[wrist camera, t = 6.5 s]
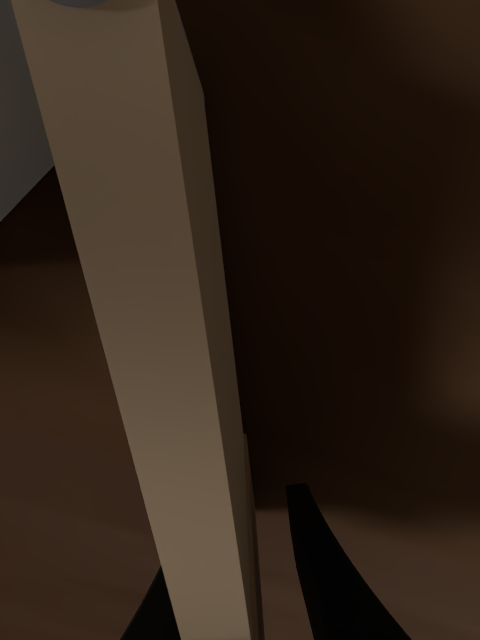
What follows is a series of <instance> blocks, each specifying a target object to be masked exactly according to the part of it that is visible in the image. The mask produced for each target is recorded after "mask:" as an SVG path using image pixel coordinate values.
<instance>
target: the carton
mask: <svg viewBox="0 0 480 640" xmlns="http://www.w3.org/2000/svg"><path fill="white" fill-rule="evenodd" d="M54 165H55V164H54V161H53V157H52V153H51V149H50V146H49V142H48V138H47V134H46V131H45V127H44V123H43V119H42V116H41V112H40V108H39V104H38V101H37V97H36V93H35V89H34V86H33V82H32V78H31V74H30V71H29V67H28V63H27V59H26V56H25V52H24V48H23V44H22V41H21V37H20V33H19V29H18V26H17V22H16V18H15V14H14V11H13V7H12V3H11V0H0V222H1V221H2V219H3V218H4V217H5V216H6V215H7V214H8V213H9V212H10V211H11V210H12V209H13V208H14V207H15V206H16V205H17V204H18V203H19V202H20V201H21V200H22V199H23V197H24V196H25V195H26V194H27V193H28V192H29V191H30V190H31V189H32V188H33V187H34V186H35V185H36V184H37V183H38V182H39V181H40V180H41V179H42V178H43V177H44V175H45V174H46V173H47V172H48V171H49V170H50V169H51V168H52V167H53V166H54Z"/></svg>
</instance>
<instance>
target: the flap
mask: <svg viewBox="0 0 480 640" xmlns="http://www.w3.org/2000/svg"><path fill="white" fill-rule="evenodd" d="M11 3H12V7H13V11H14V14H15V18H16V22H17V26H18V29H19V33H20V37H21V41H22V44H23V48H24V52H25V56H26V59H27V63H28V67H29V71H30V74H31V78H32V82H33V86H34V89H35V93H36V97H37V101H38V104H39V108H40V112H41V116H42V119H43V123H44V127H45V131H46V134H47V138H48V142H49V146H50V149H51V153H52V157H53V161H54V164H55V168H56V172H57V176H58V179H59V183H60V187H61V191H62V194H63V198H64V202H65V206H66V209H67V213H68V217H69V221H70V224H71V228H72V232H73V236H74V239H75V243H76V247H77V251H78V254H79V258H80V262H81V266H82V269H83V273H84V277H85V281H86V284H87V288H88V292H89V296H90V299H91V303H92V307H93V311H94V314H95V318H96V322H97V326H98V330H99V333H100V337H101V341H102V345H103V348H104V352H105V356H106V360H107V363H108V367H109V371H110V375H111V378H112V382H113V386H114V390H115V393H116V397H117V401H118V405H119V408H120V412H121V416H122V420H123V423H124V427H125V431H126V435H127V438H128V442H129V446H130V450H131V453H132V457H133V461H134V465H135V468H136V472H137V476H138V480H139V483H140V487H141V491H142V495H143V498H144V502H145V506H146V510H147V513H148V517H149V521H150V525H151V528H152V532H153V536H154V540H155V543H156V547H157V551H158V555H159V558H160V562H161V566H162V570H163V573H164V577H165V581H166V585H167V588H168V592H169V596H170V600H171V603H172V607H173V611H174V615H175V618H176V622H177V626H178V630H179V633H180V637H181V640H265V637H264V623H263V609H262V595H261V582H260V568H259V554H258V540H257V526H256V514H255V505H254V497H253V488H252V479H251V470H250V462H249V453H248V444H247V435H246V434H243V427H242V419H241V410H240V402H239V393H238V385H237V376H236V368H235V359H234V351H233V342H232V334H231V325H230V317H229V308H228V300H227V291H226V283H225V274H224V266H223V257H222V249H221V240H220V232H219V223H218V215H217V206H216V198H215V189H214V181H213V173H212V164H211V156H210V147H209V139H208V130H207V122H206V113H205V97H204V92H203V89H202V85H201V82H200V79H199V76H198V72H197V69H196V66H195V63H194V59H193V56H192V53H191V50H190V46H189V43H188V40H187V37H186V33H185V30H184V27H183V24H182V21H181V17H180V14H179V11H178V8H177V4H176V1H175V0H11Z"/></svg>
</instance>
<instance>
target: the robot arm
mask: <svg viewBox="0 0 480 640" xmlns="http://www.w3.org/2000/svg"><path fill="white" fill-rule="evenodd" d="M286 493H287V503H288V512H289V521H290V531H291V537H292V543H293V550H294V556H295V562H296V568H297V572H298V576H299V580H300V584H301V588H302V592H303V596H304V600H305V604H306V608H307V613H308V617H309V621H310V625H311V629H312V633H313V637H314V640H411V638H410V637H409V636H408V635H407V634H406V633H405V631H404V630H403V629H402V628H401V627H400V625H399V624H398V623H397V622H396V621H395V619H394V618H393V617H392V616H391V615H390V613H389V612H388V611H387V610H386V608H385V607H384V606H383V604H382V603H381V602H380V601H379V599H378V598H377V597H376V595H375V594H374V593H373V592H372V590H371V589H370V588H369V586H368V585H367V583H366V582H365V581H364V579H363V578H362V577H361V575H360V574H359V572H358V571H357V569H356V568H355V567H354V565H353V564H352V562H351V561H350V559H349V558H348V556H347V555H346V553H345V552H344V550H343V549H342V547H341V546H340V544H339V542H338V541H337V539H336V538H335V536H334V534H333V533H332V531H331V530H330V528H329V526H328V525H327V523H326V521H325V519H324V517H323V516H322V514H321V512H320V510H319V508H318V506H317V504H316V502H315V500H314V498H313V496H312V494H311V492H310V489H309V487H308V485H306V484H305V483H303V484H294V485H286ZM120 640H181V637H180V633H179V630H178V626H177V622H176V618H175V615H174V611H173V607H172V603H171V600H170V596H169V592H168V588H167V585H166V581H165V577H164V573H163V570H162V566H160V569H159V571H158V573H157V574H156V576H155V578H154V580H153V582H152V584H151V586H150V588H149V590H148V592H147V594H146V596H145V598H144V599H143V601H142V603H141V605H140V607H139V608H138V610H137V612H136V614H135V615H134V617H133V619H132V621H131V622H130V624H129V626H128V627H127V629H126V631H125V632H124V634H123V636H122V637H121V639H120Z"/></svg>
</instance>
